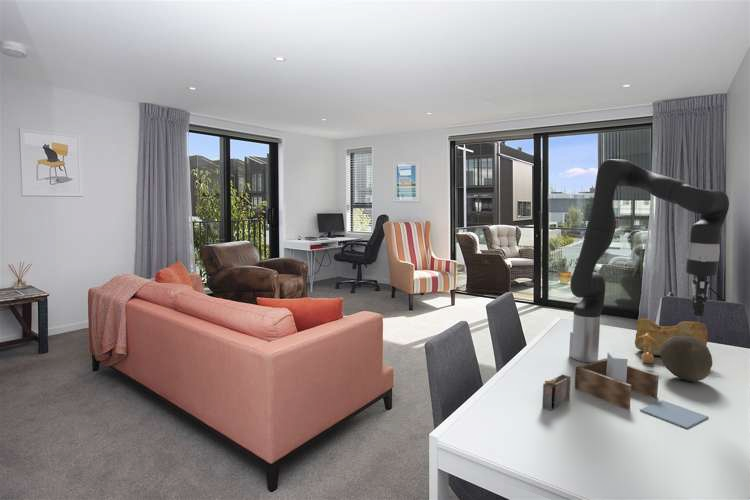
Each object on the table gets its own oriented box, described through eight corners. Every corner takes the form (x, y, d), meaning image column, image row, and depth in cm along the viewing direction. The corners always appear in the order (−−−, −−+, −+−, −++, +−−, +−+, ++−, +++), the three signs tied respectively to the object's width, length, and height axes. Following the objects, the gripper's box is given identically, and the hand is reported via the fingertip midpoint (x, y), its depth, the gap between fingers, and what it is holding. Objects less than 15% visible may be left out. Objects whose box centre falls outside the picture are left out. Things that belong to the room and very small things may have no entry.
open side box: (574, 388, 143) (575, 367, 143) (604, 378, 151) (605, 358, 151) (627, 409, 129) (629, 385, 128) (657, 396, 137) (658, 374, 136)
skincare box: (625, 397, 137) (628, 359, 135) (610, 395, 138) (612, 358, 136) (619, 389, 143) (621, 352, 141) (604, 388, 143) (606, 351, 142)
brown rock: (689, 371, 158) (692, 330, 156) (721, 388, 144) (725, 343, 142) (650, 372, 157) (653, 330, 156) (678, 388, 143) (682, 343, 141)
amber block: (708, 357, 175) (710, 319, 175) (706, 365, 162) (707, 324, 162) (640, 347, 190) (641, 312, 189) (633, 354, 177) (634, 316, 177)
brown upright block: (552, 413, 127) (553, 380, 126) (542, 409, 129) (543, 376, 128) (571, 401, 134) (572, 370, 133) (561, 398, 137) (562, 367, 136)
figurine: (661, 364, 165) (663, 332, 163) (656, 368, 161) (658, 336, 159) (636, 358, 171) (638, 328, 169) (631, 362, 167) (633, 331, 165)
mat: (640, 410, 128) (640, 409, 128) (662, 401, 134) (662, 400, 134) (686, 428, 117) (686, 427, 117) (708, 417, 124) (708, 416, 123)
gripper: (686, 254, 139) (681, 305, 141) (688, 260, 127) (682, 315, 129) (716, 256, 135) (710, 309, 137) (721, 262, 123) (715, 319, 125)
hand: (697, 312), depth 133 cm, fingers open, 8 cm apart
